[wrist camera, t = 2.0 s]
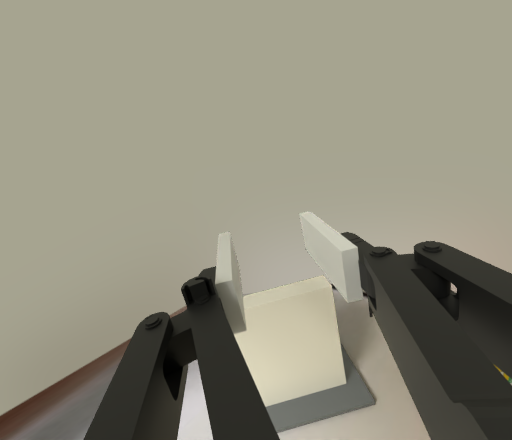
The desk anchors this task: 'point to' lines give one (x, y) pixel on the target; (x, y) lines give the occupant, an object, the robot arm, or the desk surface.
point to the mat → (323, 401)
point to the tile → (292, 340)
